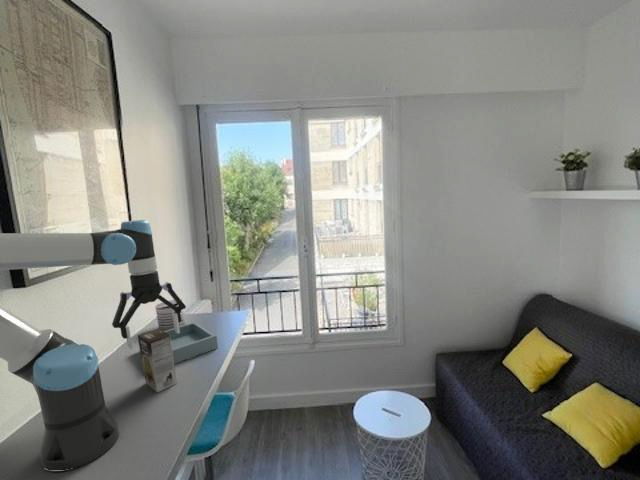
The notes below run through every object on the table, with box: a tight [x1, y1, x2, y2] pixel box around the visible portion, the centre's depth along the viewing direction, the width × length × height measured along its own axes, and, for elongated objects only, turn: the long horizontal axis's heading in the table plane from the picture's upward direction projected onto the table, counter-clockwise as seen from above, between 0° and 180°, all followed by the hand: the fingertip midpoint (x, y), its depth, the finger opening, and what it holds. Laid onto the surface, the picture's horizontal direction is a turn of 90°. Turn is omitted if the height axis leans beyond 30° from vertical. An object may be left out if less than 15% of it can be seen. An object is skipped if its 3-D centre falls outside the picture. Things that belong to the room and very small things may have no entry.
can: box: [154, 298, 186, 331], centre depth 155 cm, size 11×11×12 cm
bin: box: [137, 321, 219, 365], centre depth 131 cm, size 22×22×5 cm
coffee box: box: [137, 328, 177, 393], centre depth 106 cm, size 9×6×16 cm
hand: (154, 339), depth 106 cm, fingers open, 13 cm apart
